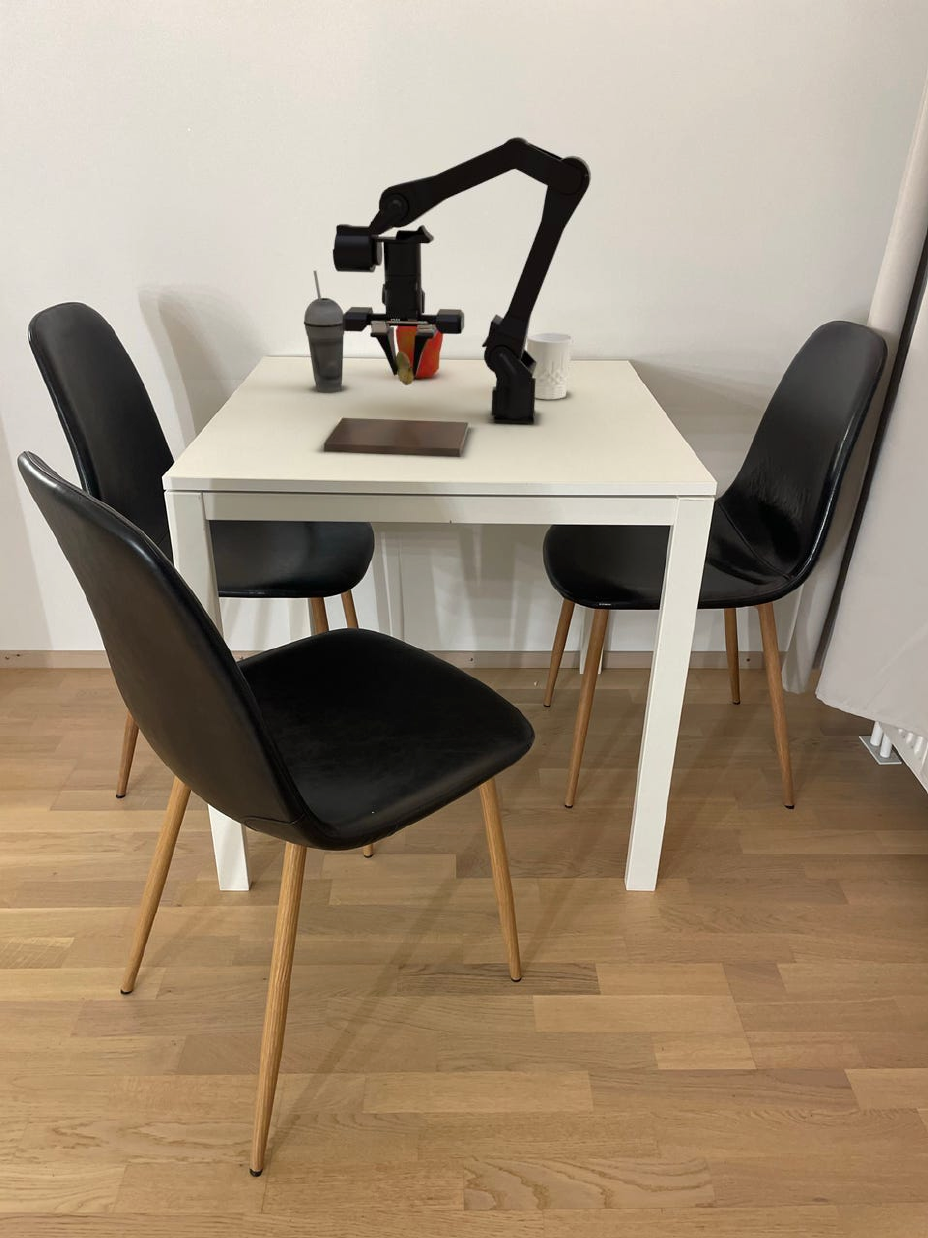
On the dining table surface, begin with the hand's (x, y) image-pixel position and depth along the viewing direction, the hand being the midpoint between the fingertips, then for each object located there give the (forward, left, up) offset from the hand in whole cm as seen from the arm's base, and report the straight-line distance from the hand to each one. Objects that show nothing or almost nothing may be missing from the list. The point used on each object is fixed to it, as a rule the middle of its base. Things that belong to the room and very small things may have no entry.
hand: (405, 374), depth 150 cm
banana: (0, 0, -1) cm, 1 cm away
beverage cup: (+16, -13, -6) cm, 22 cm away
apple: (+1, -24, -6) cm, 25 cm away
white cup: (-23, -14, -6) cm, 28 cm away
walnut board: (-1, +14, -6) cm, 16 cm away
